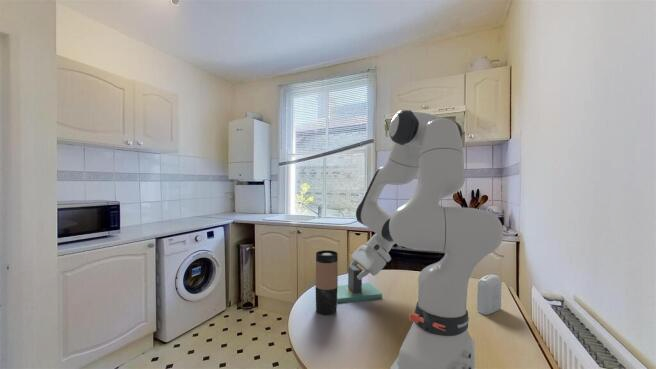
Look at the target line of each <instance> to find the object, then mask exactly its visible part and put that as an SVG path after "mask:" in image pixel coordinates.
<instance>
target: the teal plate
mask: <svg viewBox="0 0 656 369" xmlns="http://www.w3.org/2000/svg"><path fill="white" fill-rule="evenodd" d="M382 298H383V293H382V292H381V291H379V290H378V289H377V288H376V287H375V286H374V285H373V284H371V282H366V283H364V282H362V293H355V294H353V293H352V292H351V290H350V289H349V288H348V284H343V285H338V288H337V304H339V303H349V302H356V301H357V302H358V301H364V300H365V301H366V300H375V299H382Z"/></svg>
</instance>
